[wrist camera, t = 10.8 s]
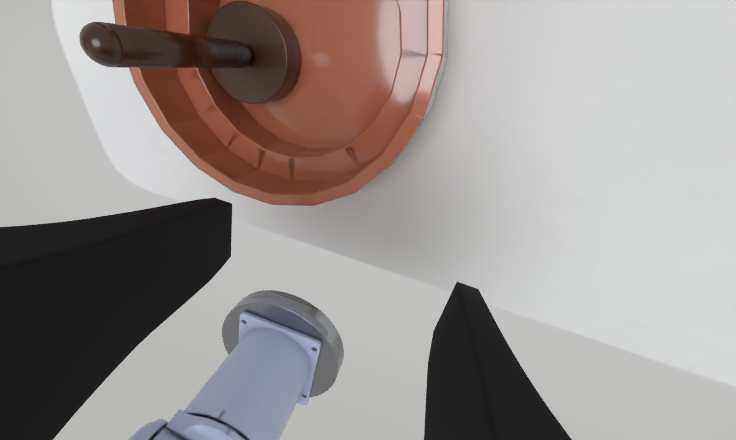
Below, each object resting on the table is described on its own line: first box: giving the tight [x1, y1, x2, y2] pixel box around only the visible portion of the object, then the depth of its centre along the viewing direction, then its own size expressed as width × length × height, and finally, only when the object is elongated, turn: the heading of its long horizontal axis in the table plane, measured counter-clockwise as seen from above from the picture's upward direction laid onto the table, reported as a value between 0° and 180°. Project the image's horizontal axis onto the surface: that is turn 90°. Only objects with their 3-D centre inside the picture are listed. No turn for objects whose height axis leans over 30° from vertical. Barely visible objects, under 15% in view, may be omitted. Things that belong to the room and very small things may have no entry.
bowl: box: [113, 0, 448, 206], centre depth 15 cm, size 14×14×5 cm
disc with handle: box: [80, 1, 301, 104], centre depth 13 cm, size 5×5×9 cm
